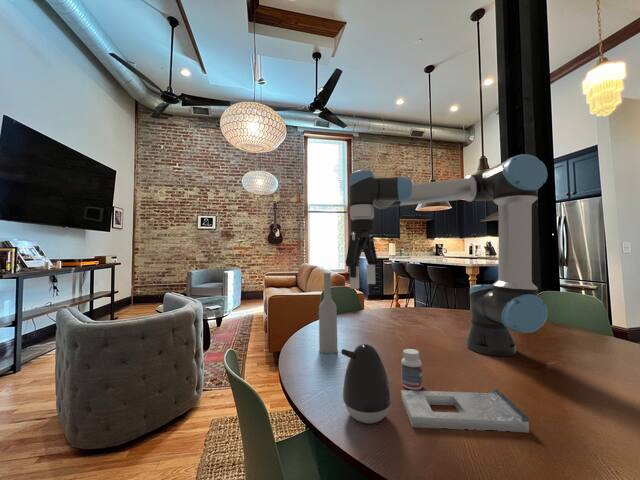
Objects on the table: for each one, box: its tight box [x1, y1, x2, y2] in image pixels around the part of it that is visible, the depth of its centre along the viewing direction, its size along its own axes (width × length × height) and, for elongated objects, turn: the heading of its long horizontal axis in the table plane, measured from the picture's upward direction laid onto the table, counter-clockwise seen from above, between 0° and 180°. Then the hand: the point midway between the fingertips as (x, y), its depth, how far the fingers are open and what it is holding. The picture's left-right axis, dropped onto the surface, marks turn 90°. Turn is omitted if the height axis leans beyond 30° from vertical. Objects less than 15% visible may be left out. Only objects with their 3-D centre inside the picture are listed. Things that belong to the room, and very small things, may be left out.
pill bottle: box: [400, 348, 424, 391], centre depth 74 cm, size 5×5×9 cm
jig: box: [401, 389, 530, 434], centre depth 60 cm, size 22×11×3 cm, turn 84°
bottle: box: [318, 272, 338, 355], centre depth 101 cm, size 7×7×28 cm
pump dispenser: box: [340, 343, 392, 424], centre depth 60 cm, size 10×10×15 cm
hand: (363, 286), depth 88 cm, fingers open, 13 cm apart
